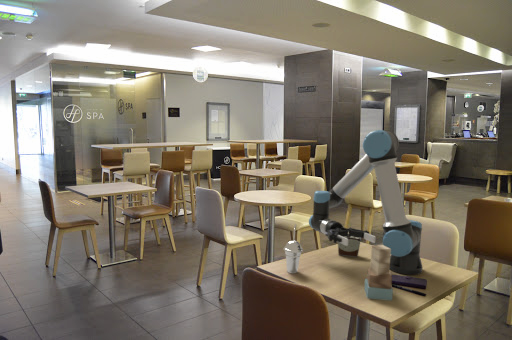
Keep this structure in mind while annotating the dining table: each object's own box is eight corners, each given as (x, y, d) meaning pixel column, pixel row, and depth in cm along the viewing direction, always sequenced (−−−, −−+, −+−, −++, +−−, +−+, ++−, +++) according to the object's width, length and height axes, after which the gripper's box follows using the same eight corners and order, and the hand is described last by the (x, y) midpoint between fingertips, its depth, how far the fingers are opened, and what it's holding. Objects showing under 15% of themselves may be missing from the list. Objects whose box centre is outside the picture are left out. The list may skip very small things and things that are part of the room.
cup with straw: (278, 271, 175) (280, 226, 173) (289, 266, 182) (291, 223, 180) (295, 276, 170) (297, 230, 168) (306, 270, 177) (308, 226, 175)
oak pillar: (381, 269, 157) (382, 245, 156) (389, 274, 152) (390, 248, 151) (370, 270, 156) (371, 245, 155) (377, 275, 151) (379, 249, 150)
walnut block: (388, 281, 157) (389, 270, 157) (390, 289, 150) (391, 277, 149) (367, 279, 159) (368, 268, 158) (368, 286, 151) (369, 275, 151)
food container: (360, 253, 205) (361, 234, 204) (360, 257, 199) (362, 237, 198) (335, 251, 208) (337, 232, 207) (335, 254, 202) (336, 235, 201)
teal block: (387, 291, 159) (388, 280, 158) (392, 301, 150) (392, 289, 149) (364, 289, 160) (365, 278, 159) (367, 298, 151) (368, 287, 150)
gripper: (354, 234, 188) (385, 247, 168) (307, 238, 178) (335, 252, 159) (354, 218, 187) (386, 229, 168) (308, 222, 177) (336, 234, 158)
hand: (361, 241), depth 163 cm, fingers open, 13 cm apart
